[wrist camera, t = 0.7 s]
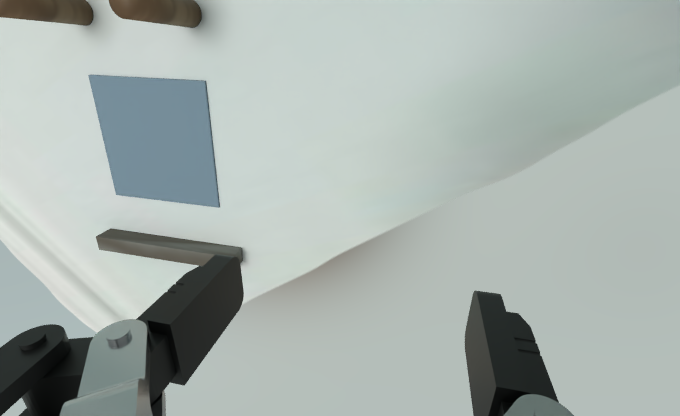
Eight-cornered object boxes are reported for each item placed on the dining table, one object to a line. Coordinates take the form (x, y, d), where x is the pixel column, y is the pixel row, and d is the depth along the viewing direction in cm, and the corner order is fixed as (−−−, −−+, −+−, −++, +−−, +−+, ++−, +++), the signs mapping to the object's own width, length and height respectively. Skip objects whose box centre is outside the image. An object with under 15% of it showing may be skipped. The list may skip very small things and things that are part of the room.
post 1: (69, -2, 39) (-25, -18, 31) (89, -2, 38) (-1, -18, 30) (75, 25, 40) (-14, 16, 32) (95, 25, 39) (9, 16, 31)
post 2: (176, -2, 36) (105, -19, 28) (199, -1, 36) (133, -19, 28) (180, 27, 37) (112, 18, 29) (202, 27, 37) (140, 19, 29)
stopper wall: (110, 228, 50) (95, 236, 48) (241, 247, 46) (231, 257, 44) (113, 241, 51) (99, 249, 49) (242, 260, 47) (233, 270, 45)
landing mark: (89, 74, 42) (88, 74, 41) (205, 80, 39) (204, 81, 39) (117, 194, 48) (116, 194, 47) (219, 206, 45) (218, 207, 45)
